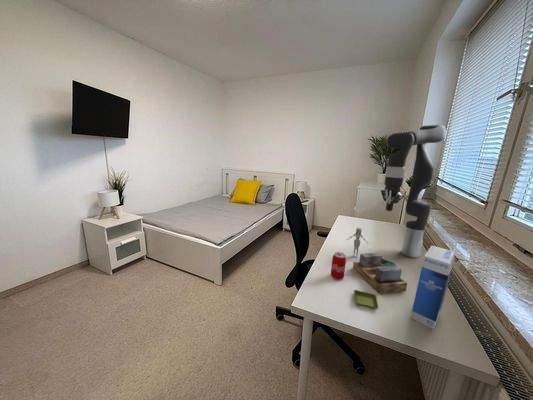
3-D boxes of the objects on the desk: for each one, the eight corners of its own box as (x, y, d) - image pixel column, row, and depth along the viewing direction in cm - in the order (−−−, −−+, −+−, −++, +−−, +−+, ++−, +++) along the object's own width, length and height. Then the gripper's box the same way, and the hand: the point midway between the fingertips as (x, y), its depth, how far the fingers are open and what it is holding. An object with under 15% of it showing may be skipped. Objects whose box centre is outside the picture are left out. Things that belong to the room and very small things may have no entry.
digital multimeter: (369, 256, 126) (370, 252, 126) (395, 268, 114) (396, 263, 114) (362, 260, 122) (363, 255, 122) (388, 272, 110) (389, 267, 110)
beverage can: (337, 282, 100) (339, 259, 97) (327, 275, 105) (330, 253, 103) (346, 278, 103) (349, 256, 100) (337, 272, 108) (339, 250, 105)
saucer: (353, 306, 85) (354, 302, 85) (353, 293, 93) (353, 289, 92) (377, 312, 82) (378, 308, 82) (375, 298, 90) (376, 294, 90)
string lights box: (418, 301, 88) (431, 244, 82) (441, 312, 83) (457, 251, 77) (409, 318, 79) (423, 255, 73) (435, 330, 74) (451, 264, 68)
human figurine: (344, 255, 126) (347, 227, 122) (344, 253, 129) (348, 225, 125) (366, 260, 121) (370, 230, 117) (366, 257, 124) (370, 228, 120)
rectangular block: (393, 281, 99) (396, 265, 98) (398, 285, 96) (401, 269, 94) (374, 282, 98) (376, 267, 96) (379, 287, 94) (381, 271, 93)
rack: (376, 267, 114) (378, 250, 112) (405, 290, 95) (409, 271, 93) (352, 268, 112) (354, 252, 110) (377, 293, 93) (380, 274, 91)
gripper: (412, 178, 96) (405, 214, 100) (391, 174, 109) (386, 207, 113) (398, 177, 95) (391, 214, 99) (378, 174, 108) (373, 207, 112)
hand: (388, 210), depth 106 cm, fingers closed
